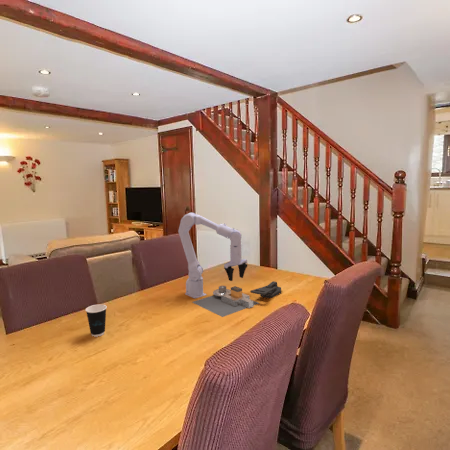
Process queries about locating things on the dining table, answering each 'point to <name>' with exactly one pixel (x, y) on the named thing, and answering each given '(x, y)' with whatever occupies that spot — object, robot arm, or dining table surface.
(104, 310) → the dixie cup
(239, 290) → the orange grey two-tone block
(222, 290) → the scaffold node
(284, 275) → the dining table surface
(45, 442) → the dining table surface
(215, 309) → the site mat
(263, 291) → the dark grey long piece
